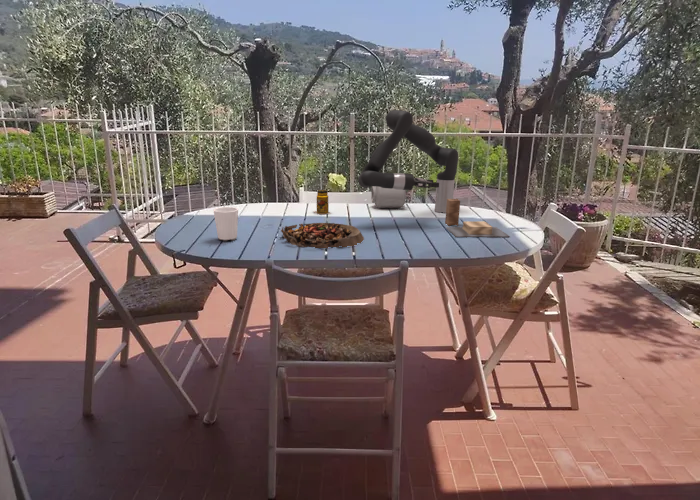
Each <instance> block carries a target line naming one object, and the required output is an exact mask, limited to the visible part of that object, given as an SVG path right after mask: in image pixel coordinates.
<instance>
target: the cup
mask: <svg viewBox="0 0 700 500" xmlns="http://www.w3.org/2000/svg"><path fill="white" fill-rule="evenodd" d="M213 217H214V220H215V221H214V222H215V227H216V233H217V239H218V241H223V242H228V241H232V242H234V241H235V240H237V238H238V225H239V224H238V221H239V209H238V208H237V207H233V206H221V207H217V208H214V209H213Z"/></svg>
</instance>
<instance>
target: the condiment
mask: <svg viewBox="0 0 700 500" xmlns="http://www.w3.org/2000/svg"><path fill="white" fill-rule="evenodd" d="M316 193H317V194H316V210H313V212H314V213H315V214H316V215H318V214H321V215H331V214H332V213H331V212H330V211H329V194H328V190H327V189H317V192H316Z"/></svg>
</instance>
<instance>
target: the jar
mask: <svg viewBox="0 0 700 500" xmlns="http://www.w3.org/2000/svg"><path fill="white" fill-rule="evenodd" d="M369 190H370V189H369V188H368V190H367V189H366V191H367V192H368V191H369ZM366 191H364V192H365V193H366ZM360 194H363V193H362V192H360ZM370 194H371V203H373V204H375V207H376V208H378V209H396V211H397V209H402V208H404V207H405V204H406V194H407V190H397V189H389V188H381V187H377V186H371V193H370ZM365 201H367V199H365Z"/></svg>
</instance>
